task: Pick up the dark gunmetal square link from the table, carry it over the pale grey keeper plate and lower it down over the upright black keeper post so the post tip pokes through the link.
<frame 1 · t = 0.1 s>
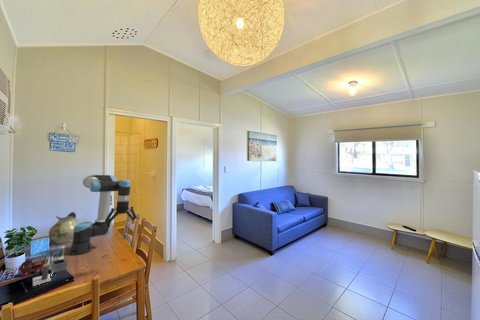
hand: (120, 230, 140), 28 cm above the table, fingers open, 13 cm apart
link: (58, 270, 132), on the table
toy fire truck: (31, 273, 128), on the table
pitcher: (64, 241, 180), on the table
keeper: (44, 280, 121), on the table
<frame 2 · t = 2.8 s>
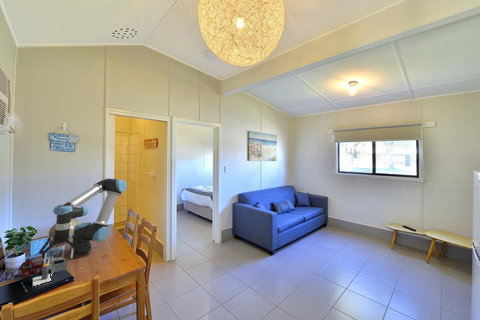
hand: (58, 260, 132), 7 cm above the table, fingers open, 13 cm apart
nothing on the table moved.
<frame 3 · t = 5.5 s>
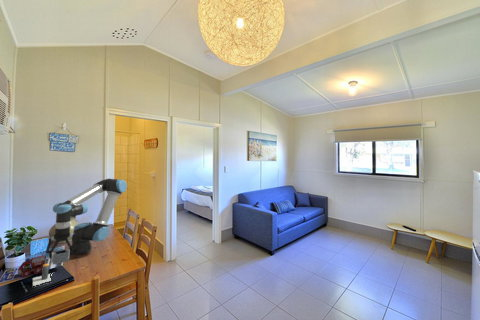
hand: (60, 260, 133), 7 cm above the table, fingers closed on link, 7 cm apart
link: (60, 260, 133), point 6 cm above the table, touching gripper
everything else where it was.
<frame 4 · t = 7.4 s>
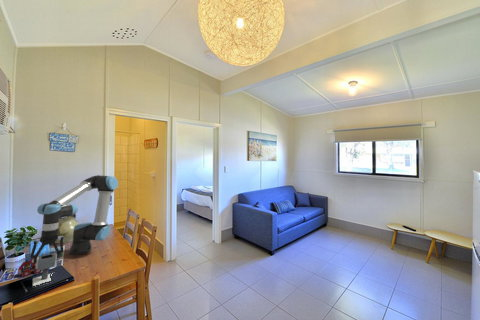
hand: (45, 265, 121), 9 cm above the table, fingers closed on link, 7 cm apart
link: (45, 266, 121), point 9 cm above the table, touching gripper
everything else where it was.
when the fingers open (2 cm above the table, at t = 9.6 s): link stays where it is, resting on keeper.
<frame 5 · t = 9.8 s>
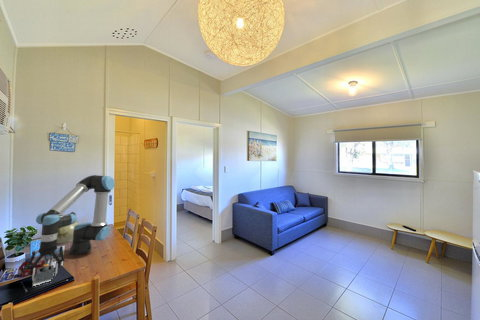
hand: (44, 276, 121), 3 cm above the table, fingers open, 9 cm apart
link: (44, 278, 121), point 1 cm above the table, touching keeper
everything else where it was.
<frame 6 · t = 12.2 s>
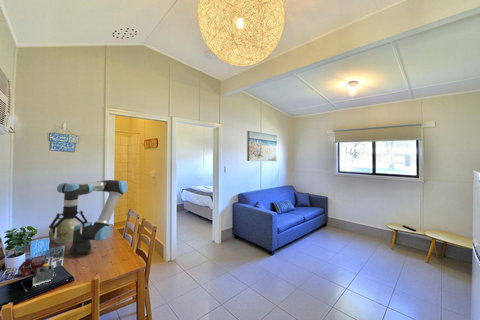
hand: (68, 235, 135), 24 cm above the table, fingers open, 13 cm apart
nothing on the table moved.
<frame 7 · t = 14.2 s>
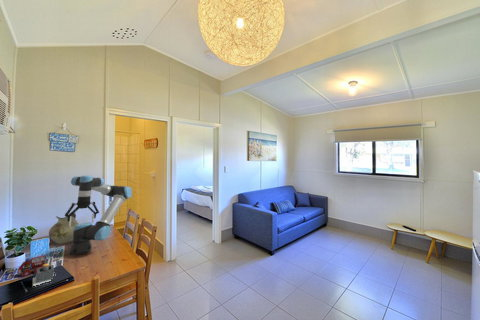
hand: (81, 224, 145), 29 cm above the table, fingers open, 13 cm apart
nothing on the table moved.
at the end: link 0.1 cm off-centre on the keeper, point 1.0 cm above the keeper's base; the gripper is holding nothing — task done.
